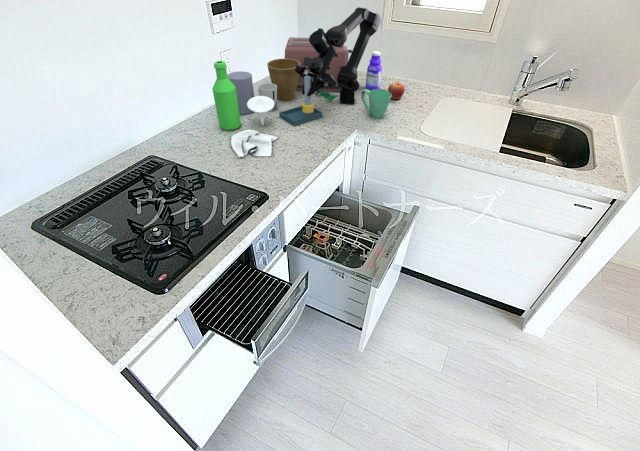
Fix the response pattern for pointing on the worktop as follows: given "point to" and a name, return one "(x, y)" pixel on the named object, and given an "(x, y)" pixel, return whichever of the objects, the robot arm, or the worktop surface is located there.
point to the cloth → (252, 143)
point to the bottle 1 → (225, 99)
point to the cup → (269, 92)
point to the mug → (376, 101)
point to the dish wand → (307, 105)
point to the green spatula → (326, 95)
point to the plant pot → (284, 77)
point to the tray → (299, 115)
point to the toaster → (303, 48)
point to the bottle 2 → (374, 72)
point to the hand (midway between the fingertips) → (305, 95)
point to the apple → (396, 90)
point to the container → (242, 89)
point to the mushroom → (260, 106)
